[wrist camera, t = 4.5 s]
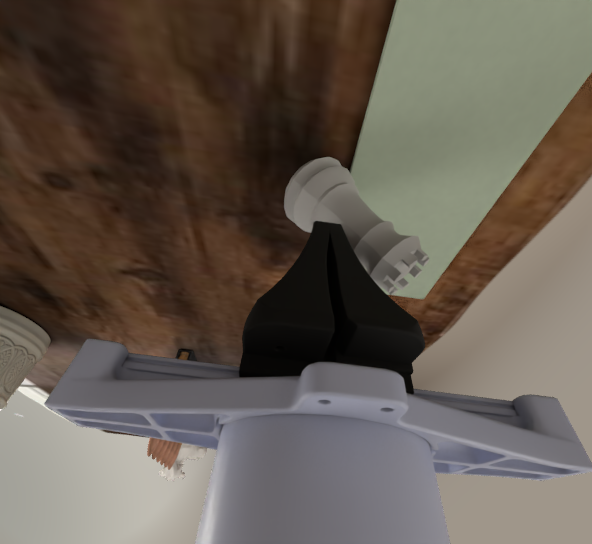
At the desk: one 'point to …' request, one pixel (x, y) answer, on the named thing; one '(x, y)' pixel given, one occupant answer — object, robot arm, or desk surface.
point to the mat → (463, 112)
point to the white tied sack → (184, 454)
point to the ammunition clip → (164, 448)
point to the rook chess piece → (352, 222)
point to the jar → (18, 351)
